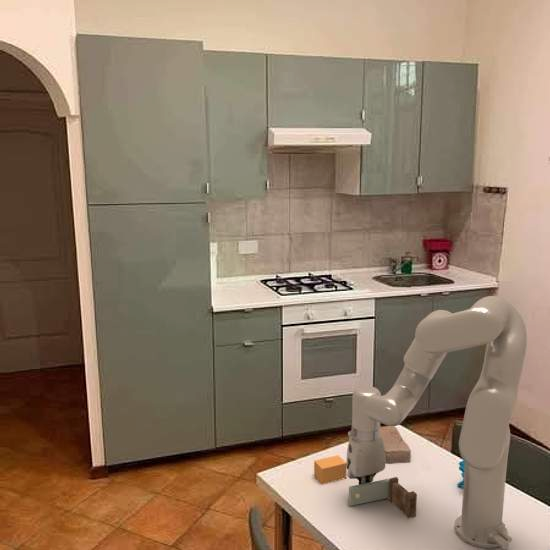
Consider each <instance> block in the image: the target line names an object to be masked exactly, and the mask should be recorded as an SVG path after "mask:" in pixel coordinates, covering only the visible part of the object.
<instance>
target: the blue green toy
mask: <svg viewBox="0 0 550 550" xmlns="http://www.w3.org/2000/svg"><path fill="white" fill-rule="evenodd" d="M458 469H459V471H461V473H460V475H461V477H462V480H461V481H460V482H458V483H456V485H457V487H458V488H461V487H462V486H464V472H465V461H464V460H463V459H462V460H461V461H459V462H458Z"/></svg>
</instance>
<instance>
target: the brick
mask: <svg viewBox="0 0 550 550" xmlns="http://www.w3.org/2000/svg"><path fill="white" fill-rule="evenodd" d="M380 434H381V435H382V436H383V441H384V446H385V464H391V465H392V464H406V463H407V464H408V463H411V457H412V455H411V454H412V453H411V452H412V450H411V449H410V446H409V445H408V444H407V442H406V441H404V439H403V436H402V435H401V433H400V432H399V430H398V428H397V426H387V425H385V426H380Z"/></svg>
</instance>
